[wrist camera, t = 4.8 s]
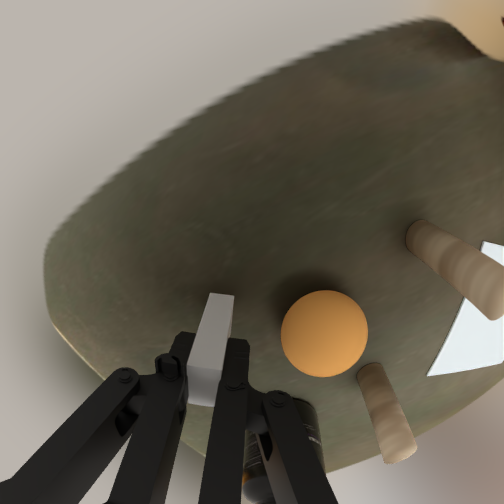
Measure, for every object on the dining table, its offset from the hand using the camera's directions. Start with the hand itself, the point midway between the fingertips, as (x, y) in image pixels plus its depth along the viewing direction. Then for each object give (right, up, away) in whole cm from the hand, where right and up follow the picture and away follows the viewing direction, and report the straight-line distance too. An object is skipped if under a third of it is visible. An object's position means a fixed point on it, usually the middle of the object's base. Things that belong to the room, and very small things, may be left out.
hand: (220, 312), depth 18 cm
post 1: (+12, -7, +4) cm, 15 cm away
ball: (+6, -1, -1) cm, 7 cm away
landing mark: (+27, -3, +2) cm, 27 cm away
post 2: (+14, +5, 0) cm, 15 cm away
